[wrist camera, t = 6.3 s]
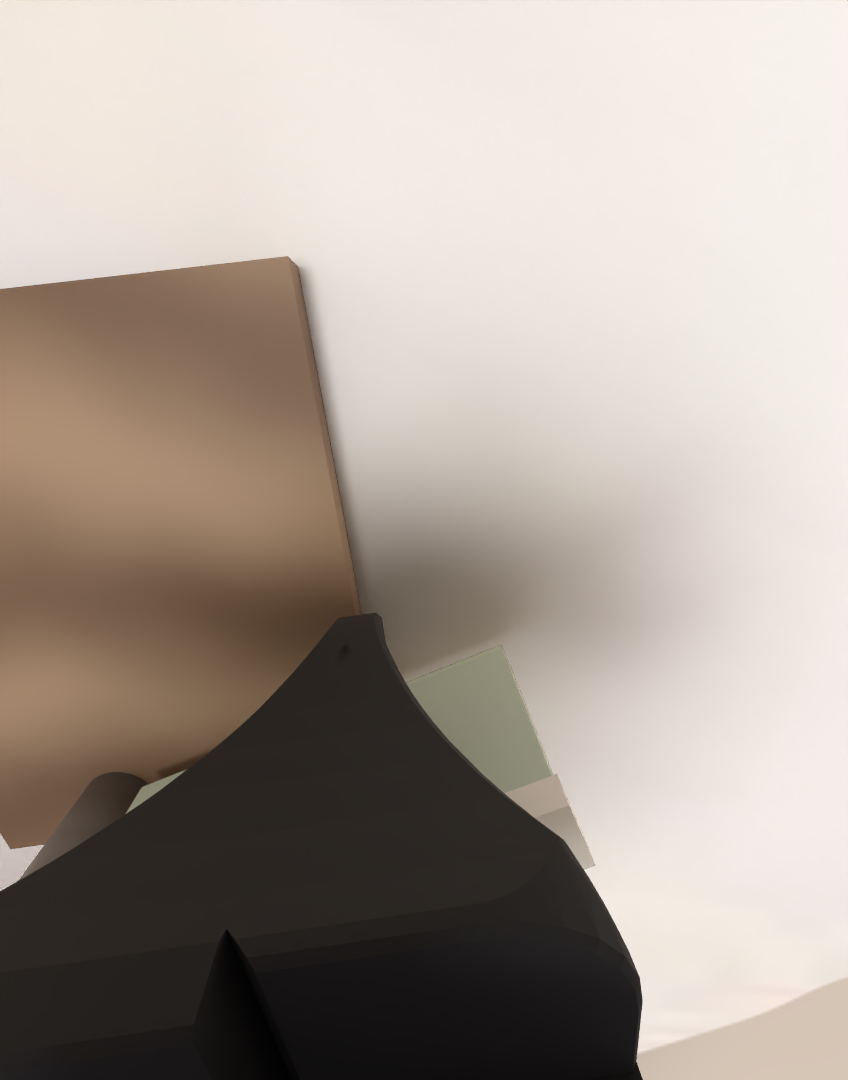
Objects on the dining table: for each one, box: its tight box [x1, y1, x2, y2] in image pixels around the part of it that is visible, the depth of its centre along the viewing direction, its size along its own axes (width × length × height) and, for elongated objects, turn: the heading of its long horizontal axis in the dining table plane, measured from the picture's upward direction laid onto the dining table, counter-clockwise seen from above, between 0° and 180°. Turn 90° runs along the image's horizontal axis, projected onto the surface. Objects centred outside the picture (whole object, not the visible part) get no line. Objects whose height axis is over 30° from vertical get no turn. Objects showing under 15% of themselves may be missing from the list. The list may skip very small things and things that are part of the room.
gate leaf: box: [126, 645, 595, 869], centre depth 10 cm, size 11×2×5 cm, turn 113°
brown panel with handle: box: [0, 256, 362, 880], centre depth 9 cm, size 16×12×7 cm
